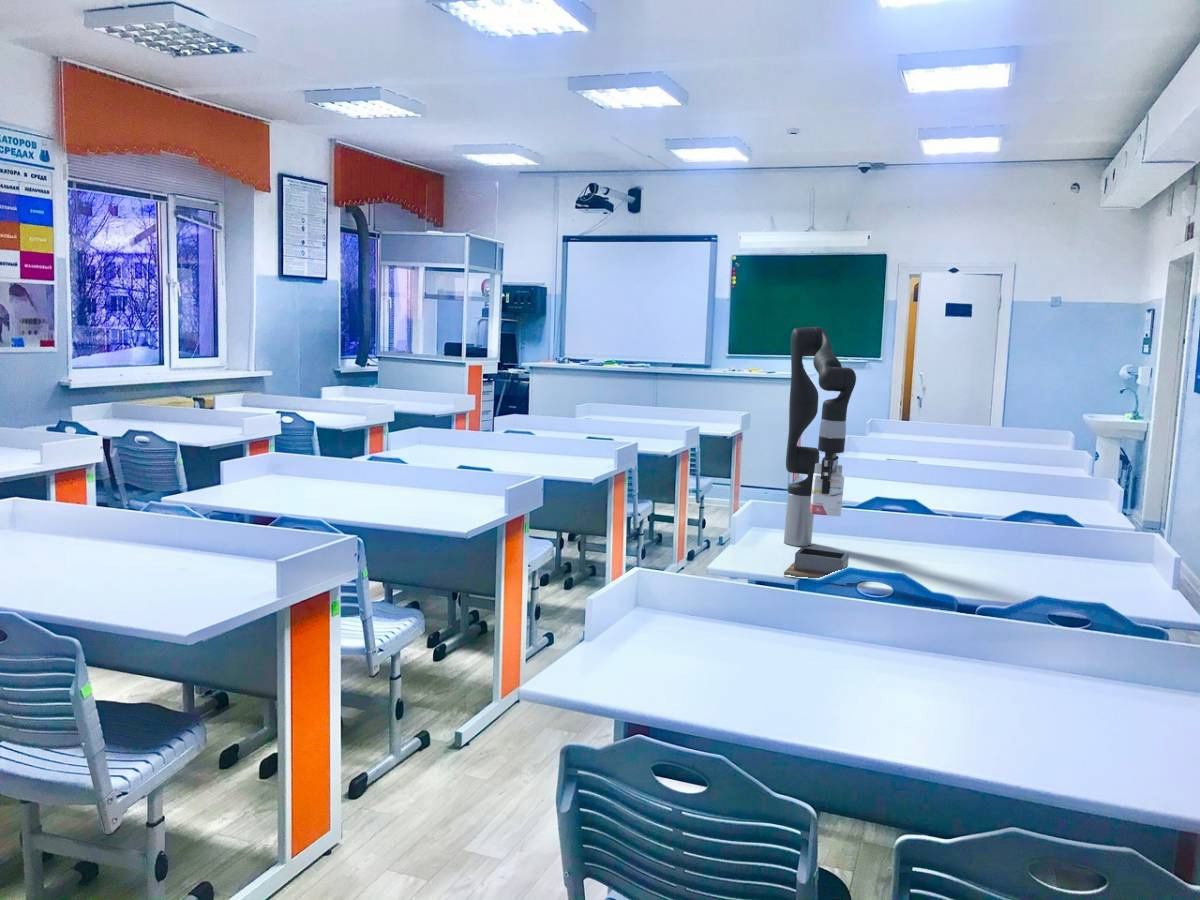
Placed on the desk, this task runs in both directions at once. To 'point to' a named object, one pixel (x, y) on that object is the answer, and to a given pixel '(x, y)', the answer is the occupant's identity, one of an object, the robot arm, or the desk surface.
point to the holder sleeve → (820, 561)
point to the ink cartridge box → (827, 502)
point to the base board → (801, 573)
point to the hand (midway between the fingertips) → (827, 492)
